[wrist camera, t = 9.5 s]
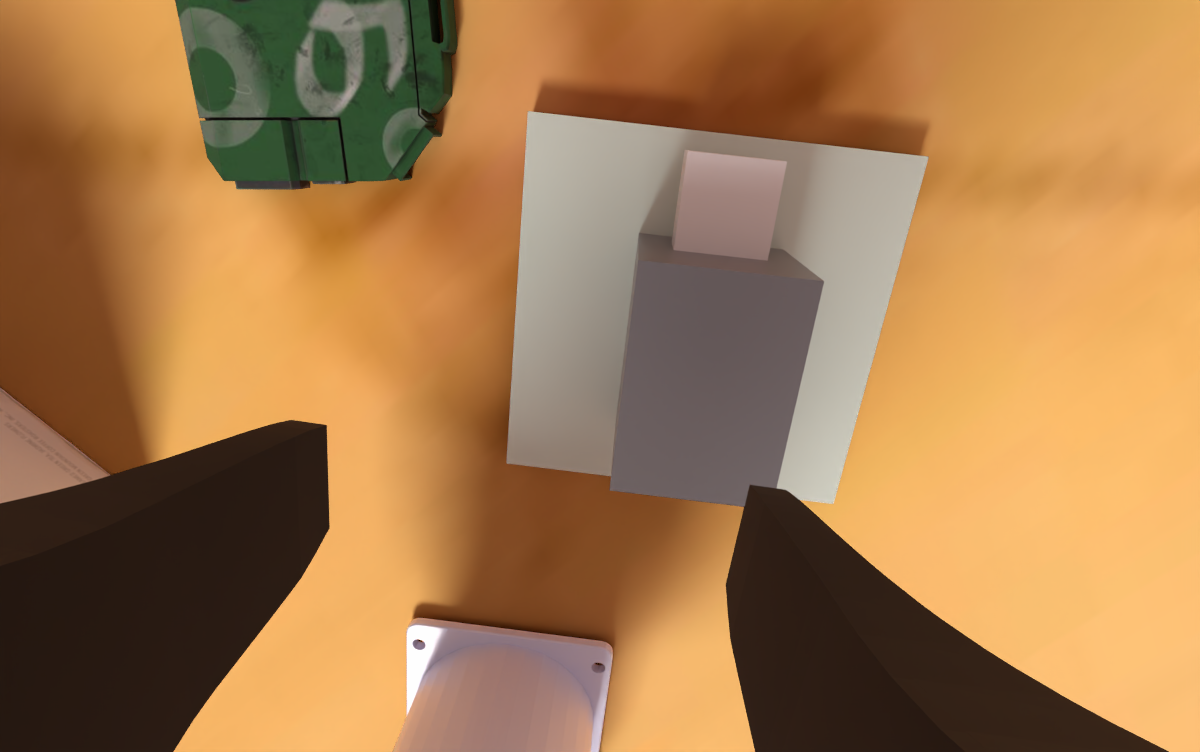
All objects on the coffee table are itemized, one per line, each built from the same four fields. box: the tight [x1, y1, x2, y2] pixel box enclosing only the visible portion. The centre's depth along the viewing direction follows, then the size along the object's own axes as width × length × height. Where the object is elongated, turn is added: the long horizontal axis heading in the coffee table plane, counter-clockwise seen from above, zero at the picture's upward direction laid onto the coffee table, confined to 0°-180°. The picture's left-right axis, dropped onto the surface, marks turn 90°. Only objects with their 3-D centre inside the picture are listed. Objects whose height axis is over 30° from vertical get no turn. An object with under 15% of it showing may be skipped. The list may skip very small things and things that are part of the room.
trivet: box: [506, 111, 929, 504], centre depth 20 cm, size 11×11×1 cm
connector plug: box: [610, 150, 824, 507], centre depth 17 cm, size 8×4×4 cm, turn 174°
